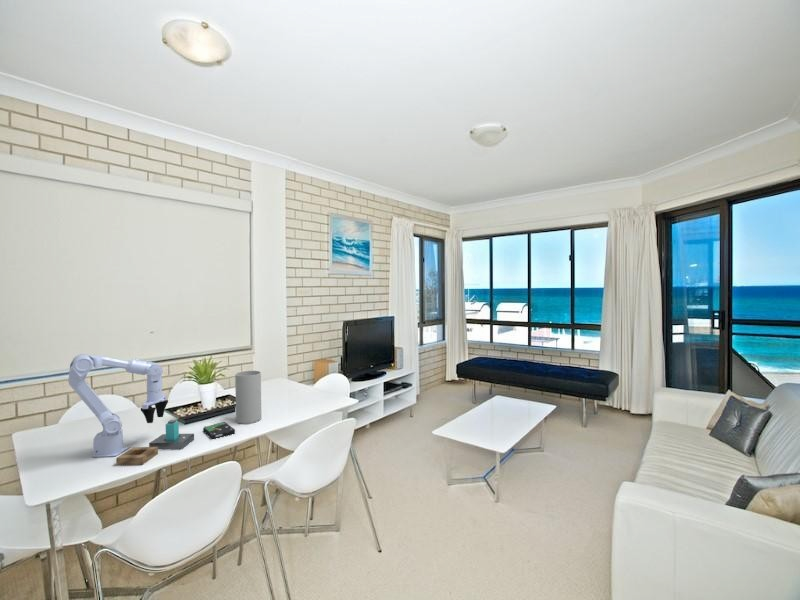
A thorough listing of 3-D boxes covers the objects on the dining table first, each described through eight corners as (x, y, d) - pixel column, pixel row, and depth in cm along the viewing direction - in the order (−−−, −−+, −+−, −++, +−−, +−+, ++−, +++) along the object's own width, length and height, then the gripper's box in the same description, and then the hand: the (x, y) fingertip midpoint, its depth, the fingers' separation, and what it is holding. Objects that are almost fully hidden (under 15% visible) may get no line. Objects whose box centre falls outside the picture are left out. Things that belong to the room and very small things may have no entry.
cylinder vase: (255, 424, 190) (254, 376, 190) (231, 424, 191) (230, 375, 190) (265, 416, 203) (264, 370, 202) (243, 415, 203) (242, 370, 203)
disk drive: (235, 435, 178) (224, 426, 189) (235, 429, 178) (224, 421, 189) (212, 441, 171) (202, 432, 182) (212, 435, 171) (202, 426, 182)
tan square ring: (116, 465, 146) (116, 458, 146) (133, 454, 156) (133, 447, 156) (142, 464, 147) (142, 457, 147) (157, 453, 157) (157, 446, 157)
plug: (166, 446, 164) (165, 422, 164) (170, 443, 168) (170, 419, 167) (174, 446, 164) (173, 422, 164) (178, 443, 168) (178, 419, 167)
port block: (149, 450, 161) (149, 442, 160) (162, 440, 170) (162, 433, 170) (182, 449, 161) (182, 441, 161) (194, 439, 171) (193, 432, 171)
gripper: (153, 394, 161) (154, 425, 161) (172, 385, 175) (173, 414, 176) (136, 394, 160) (137, 425, 161) (157, 386, 175) (158, 414, 175)
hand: (155, 419), depth 168 cm, fingers open, 7 cm apart
